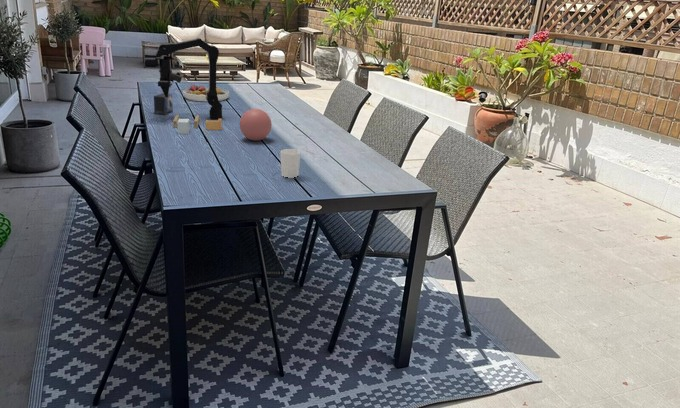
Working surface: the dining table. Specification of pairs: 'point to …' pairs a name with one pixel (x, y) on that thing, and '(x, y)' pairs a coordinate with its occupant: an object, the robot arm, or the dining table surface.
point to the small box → (163, 104)
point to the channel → (178, 119)
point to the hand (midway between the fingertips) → (166, 97)
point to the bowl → (203, 93)
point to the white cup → (290, 162)
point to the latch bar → (214, 125)
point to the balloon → (255, 124)
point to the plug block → (183, 126)
